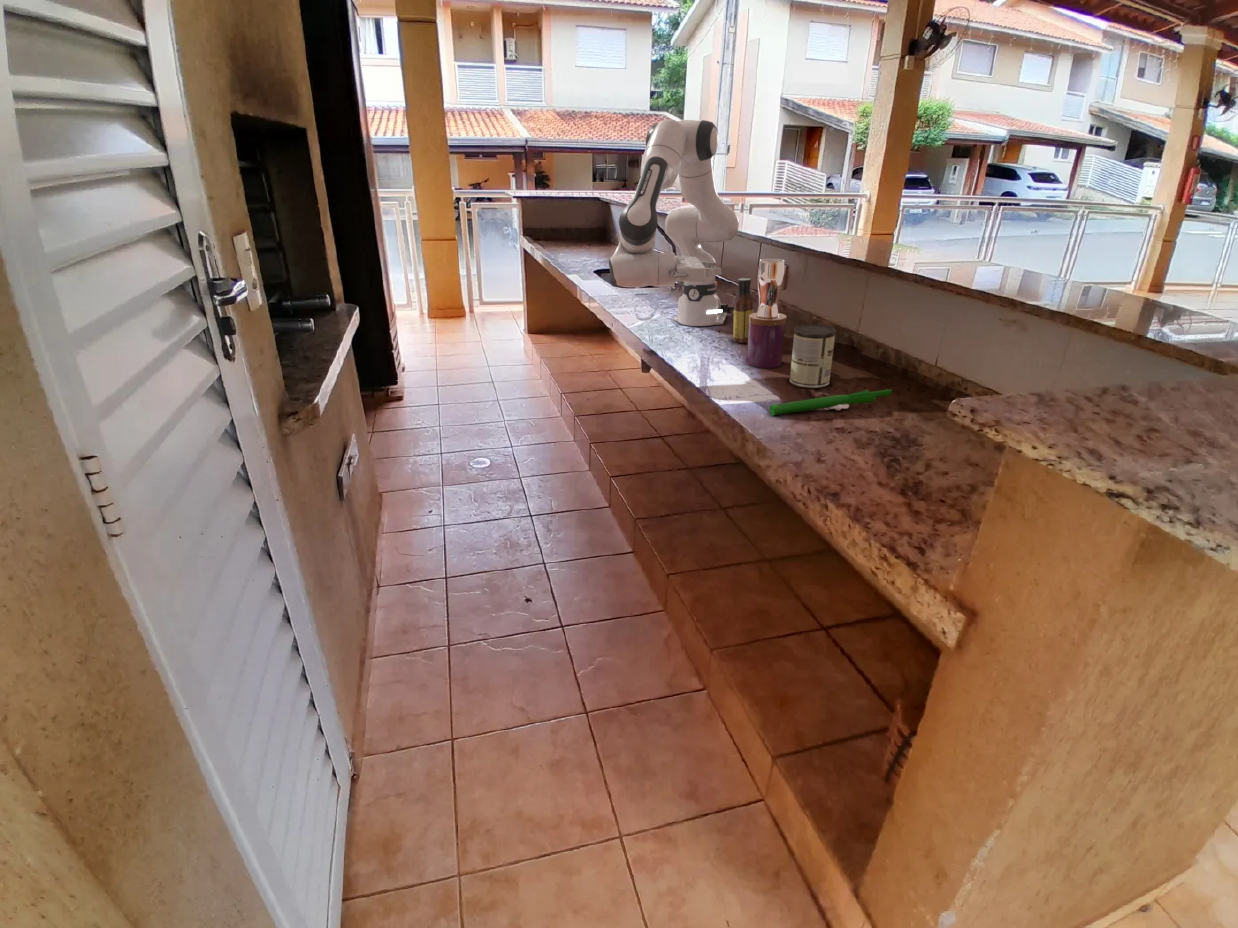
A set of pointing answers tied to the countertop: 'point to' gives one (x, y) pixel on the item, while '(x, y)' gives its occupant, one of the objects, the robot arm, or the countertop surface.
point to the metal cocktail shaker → (769, 287)
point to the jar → (765, 341)
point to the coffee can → (812, 355)
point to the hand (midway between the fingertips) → (718, 268)
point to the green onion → (828, 402)
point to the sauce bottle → (742, 311)
